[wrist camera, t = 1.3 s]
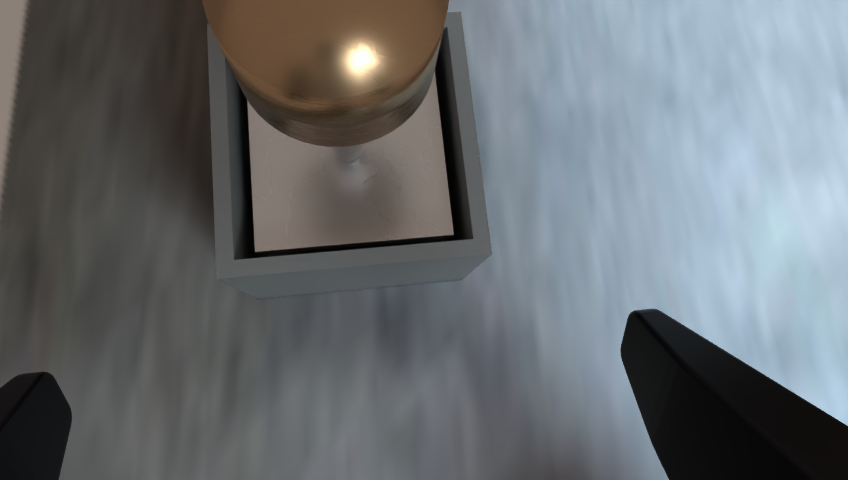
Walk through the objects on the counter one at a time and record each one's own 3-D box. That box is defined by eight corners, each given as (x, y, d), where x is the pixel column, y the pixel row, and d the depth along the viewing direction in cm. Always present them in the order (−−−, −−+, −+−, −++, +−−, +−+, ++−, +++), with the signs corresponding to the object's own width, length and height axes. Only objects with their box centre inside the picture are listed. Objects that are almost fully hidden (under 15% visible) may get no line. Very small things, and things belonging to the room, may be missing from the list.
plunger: (451, 238, 19) (519, 134, 10) (258, 255, 18) (150, 159, 9) (431, 65, 20) (476, -166, 11) (249, 74, 19) (145, -162, 11)
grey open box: (462, 280, 23) (491, 254, 17) (258, 299, 22) (216, 279, 16) (437, 68, 25) (456, -21, 19) (246, 78, 24) (205, -11, 18)
